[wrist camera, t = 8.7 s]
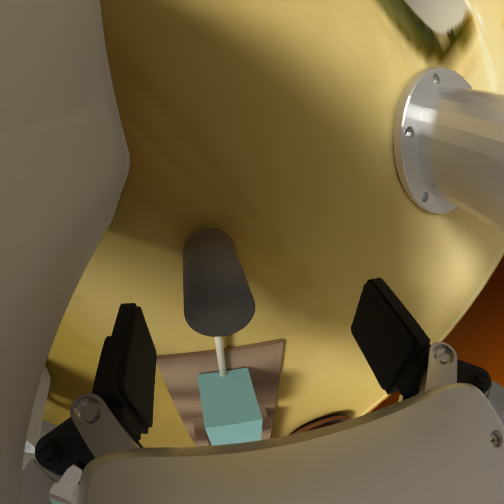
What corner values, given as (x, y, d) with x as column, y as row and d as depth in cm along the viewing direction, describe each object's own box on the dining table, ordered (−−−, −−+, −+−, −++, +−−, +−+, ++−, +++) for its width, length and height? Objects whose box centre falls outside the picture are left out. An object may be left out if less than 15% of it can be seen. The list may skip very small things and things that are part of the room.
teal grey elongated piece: (168, 233, 15) (163, 288, 11) (244, 224, 16) (270, 276, 12) (204, 401, 25) (212, 447, 20) (248, 394, 25) (261, 440, 21)
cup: (50, 357, 19) (29, 437, 11) (55, 402, 22) (45, 465, 14) (-8, 329, 16) (-40, 399, 8) (6, 381, 19) (-10, 439, 12)
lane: (155, 356, 21) (154, 388, 18) (282, 338, 23) (295, 368, 20) (199, 451, 33) (202, 469, 30) (269, 440, 35) (275, 458, 32)
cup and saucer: (273, 447, 38) (282, 476, 33) (289, 419, 33) (303, 455, 27) (333, 433, 41) (345, 458, 36) (359, 401, 36) (376, 431, 30)
